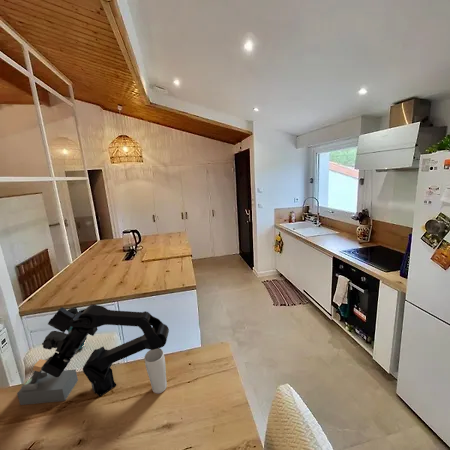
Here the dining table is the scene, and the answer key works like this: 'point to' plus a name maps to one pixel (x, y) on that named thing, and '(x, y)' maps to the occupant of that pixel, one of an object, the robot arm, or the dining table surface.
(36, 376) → the lever
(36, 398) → the base
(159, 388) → the drinking glass
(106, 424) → the dining table surface
